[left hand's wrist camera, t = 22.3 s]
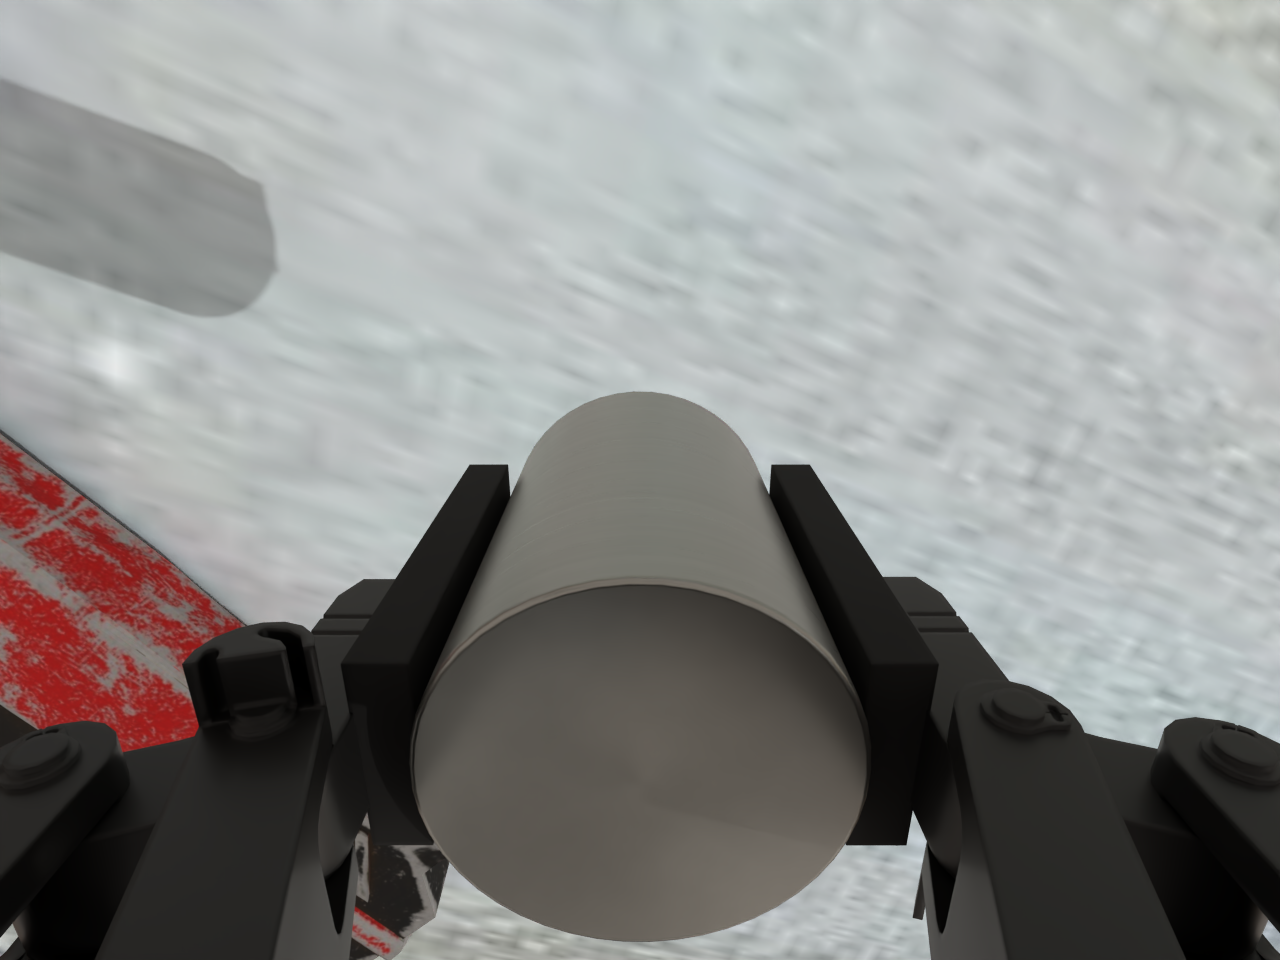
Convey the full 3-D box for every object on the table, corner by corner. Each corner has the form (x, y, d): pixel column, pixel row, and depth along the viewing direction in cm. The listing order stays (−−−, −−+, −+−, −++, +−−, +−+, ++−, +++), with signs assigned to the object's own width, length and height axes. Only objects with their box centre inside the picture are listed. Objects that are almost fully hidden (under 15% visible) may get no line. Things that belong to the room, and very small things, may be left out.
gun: (187, 1110, 32) (497, 900, 28) (-627, 683, 23) (-350, 273, 18) (237, 1004, 36) (513, 808, 32) (-433, 607, 27) (-171, 259, 23)
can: (667, 654, 16) (689, 999, 9) (471, 537, 15) (326, 826, 8) (813, 482, 15) (972, 737, 8) (607, 338, 14) (571, 483, 7)
